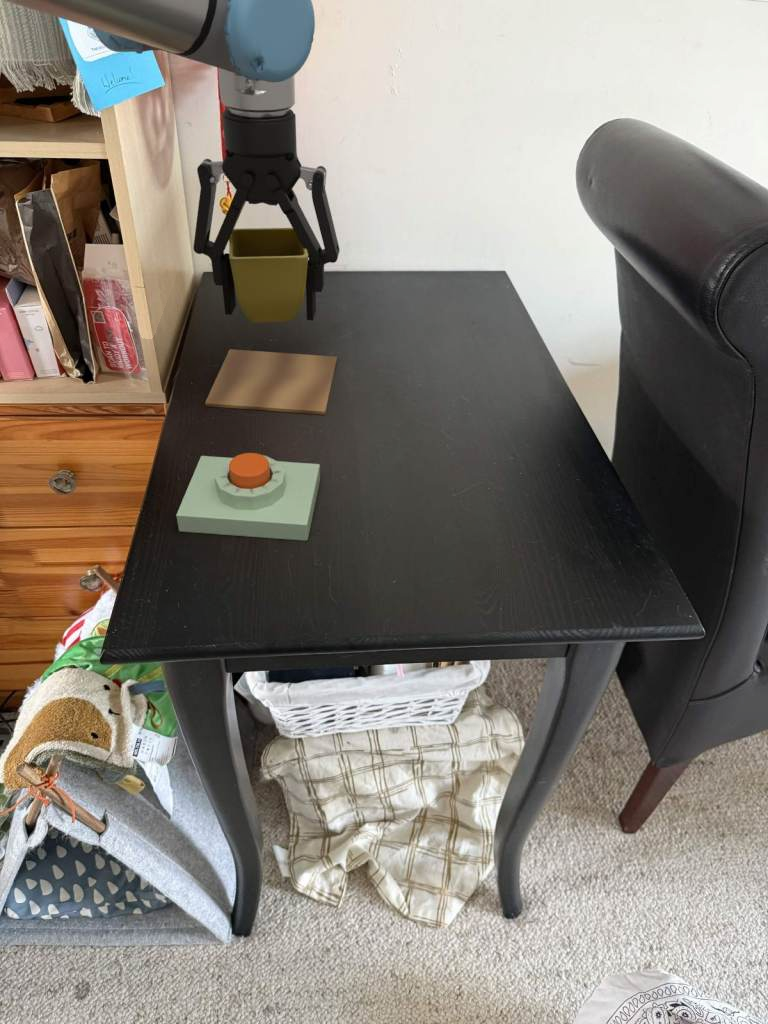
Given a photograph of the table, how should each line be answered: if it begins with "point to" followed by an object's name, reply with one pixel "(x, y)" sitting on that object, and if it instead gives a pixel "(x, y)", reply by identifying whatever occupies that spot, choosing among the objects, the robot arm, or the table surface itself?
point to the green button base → (250, 501)
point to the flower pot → (268, 272)
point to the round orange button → (249, 470)
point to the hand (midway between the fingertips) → (271, 312)
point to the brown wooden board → (273, 382)
